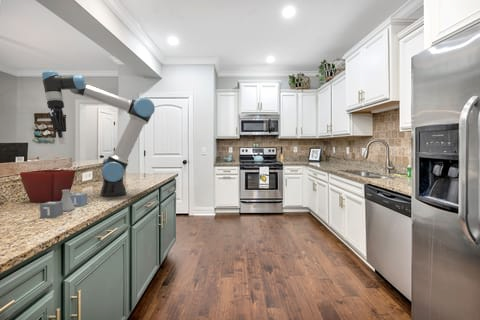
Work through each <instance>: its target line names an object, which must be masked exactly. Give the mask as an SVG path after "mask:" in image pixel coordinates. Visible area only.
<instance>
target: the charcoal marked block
mask: <svg viewBox="0 0 480 320" xmlns="http://www.w3.org/2000/svg"><path fill="white" fill-rule="evenodd" d="M39 212H40V213H39V215H40V216H39V217H40V219H51V218H52V219H55V218H57V217H58V218H59V217H60V216H63V215H64V213H63V202H61V201H55V202H42V203H40V204H39Z"/></svg>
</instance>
